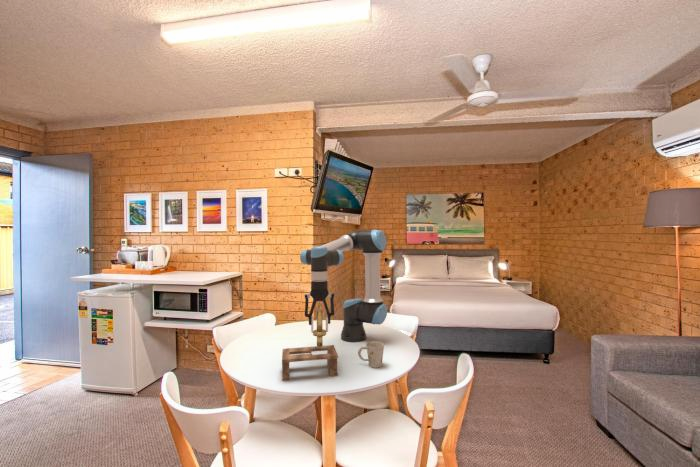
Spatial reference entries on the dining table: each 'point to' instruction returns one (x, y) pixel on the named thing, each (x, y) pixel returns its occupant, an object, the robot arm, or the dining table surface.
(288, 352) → the keyhole shelf
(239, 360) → the dining table surface
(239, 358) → the dining table surface
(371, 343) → the mug
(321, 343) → the pin
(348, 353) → the dining table surface
